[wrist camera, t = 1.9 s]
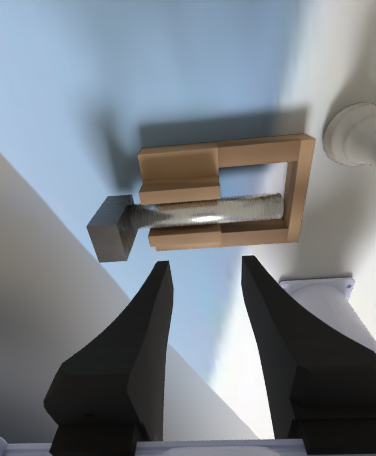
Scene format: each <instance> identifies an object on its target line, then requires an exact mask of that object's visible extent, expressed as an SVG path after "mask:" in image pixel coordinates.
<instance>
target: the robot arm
mask: <svg viewBox="0 0 376 456" xmlns="http://www.w3.org/2000/svg"><path fill="white" fill-rule="evenodd" d="M354 283H355V281H354V279H353V278H351V277H348V278H330V279H312V280H294V281H282V282H280V283H279V284H278V283H277V282H276V281H275V280H274V279H273V277H272V276H271V275H270V274H269V273H268V272H267V271H266V269H265V268H264V267H263V266H262V265H261V263H260V262H259V261H258V259H257V258H256V257H255V256H254V255H252V256H242V276H241V286H242V292H243V297H244V302H245V306H246V309H247V312H248V316H249V319H250V322H251V326H252V329H253V332H254V335H255V339H256V342H257V346H258V350H259V355H260V360H261V365H262V370H263V375H264V380H265V386H266V391H267V396H268V402H269V407H270V413H271V419H272V425H273V431H274V437H275V439H267V440H212V441H163V406H164V382H165V363H166V348H167V341H168V335H169V328H170V322H171V315H172V308H173V282H172V276H171V271H170V265H169V261H158V262H157V263H156V264H155V266H154V268H153V270H152V271H151V273H150V275H149V276H148V278H147V279H146V281H145V282H144V284H143V285H142V287H141V288H140V290H139V291H138V293H137V294H136V295H135V297H134V298H133V299H132V301H131V302H130V303H129V305H128V306H127V307H126V308H125V309H124V310H123V311H122V313H121V314H120V315H119V316H118V317H117V318H116V319H115V320H114V321H113V322H112V323H111V324H110V325H109V326H108V327H107V328H106V329H105V330H104V331H103V332H102V333H101V334H99V335H98V336H97V337H96V338H95V339H94V340H92V341H91V342H90V343H89V344H88V345H86V346H85V347H84V348H83V349H81V350H80V351H79V352H77V353H76V354H74V355H73V356H72V357H70V358H69V359H68V360H66V361H65V362H63V363H62V365H61V367H60V368H59V370H58V372H57V373H56V375H55V377H54V379H53V381H52V384H51V386H50V388H49V390H48V392H47V394H46V397H45V399H44V407H45V409H46V411H47V412H48V414H49V415H50V416H51V417H52V418H53V419H54V421H55V422H56V423H57V424H58V425H59V427H58V429H57V432H56V434H55V437H54V440H53V442H52V443H44V444H43V443H41V444H7V442H6V441H5V440H4V439H3V438H1V437H0V456H376V341H375V340H374V338H373V337H372V335H371V334H370V332H369V331H368V330H367V328H366V327H365V325H364V324H363V322H362V321H361V320H360V318H359V317H358V315H357V314H356V312H355V311H354V309H353V308H352V307H351V305H350V304H349V302H348V300H349V297H350V294H351V292H352V289H353V286H354ZM283 288H284V289H283Z"/></svg>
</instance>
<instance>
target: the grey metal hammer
mask: <svg viewBox="0 0 376 456" xmlns="http://www.w3.org/2000/svg"><path fill="white" fill-rule="evenodd" d="M283 211H284V204H283V198H282V195H281V194H280V193H271V194H258V195H245V196H233V197H220V199H213V200H200V201H187V202H175V203H162V204H149V205H141V204H134V201H133V197H132V195H120V196H108V197H107V198H106V200H105V201H104V202H103V204H102V205H101V207H100V208H99V209H98V211H97V212H96V214H95V215H94V216H93V218H92V219H91V221H90V222H89V224H88V225H87V226H86V227H87V230H88V232H89V235H90V238H91V241H92V244H93V246H94V249H95V252H96V255H97V257H98V260H99V263H100V262H116V261H127V259H128V256H129V254H130V251H131V248H132V245H133V242H134V240H135V237H136V234H137V231H138V229H145V228H159V227H173V226H187V225H201V224H215V223H229V222H243V221H257V220H270V219H281V218H282V216H283Z"/></svg>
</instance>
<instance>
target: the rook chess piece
mask: <svg viewBox="0 0 376 456" xmlns="http://www.w3.org/2000/svg"><path fill="white" fill-rule="evenodd" d="M323 149H324V151H325V153H326V155H327V157H328V158H330V159H331V160H333V161H335V162H338V163H340V164H341V165H349V166H357V165H363V164H372V165H376V105H374V104H371V103H363V102H361V103H357V104H354V105H350V106H348V107H346V108H345V109H343V110H342V111H341V112H339V113H338V114H336V116H335V117H334V118H333V119H332V121H331V122H330V123H329V124H328V126H327V129H326V131H325V134H324V137H323Z"/></svg>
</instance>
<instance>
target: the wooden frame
mask: <svg viewBox="0 0 376 456" xmlns="http://www.w3.org/2000/svg"><path fill="white" fill-rule="evenodd" d="M315 140H316V139H315V138H313V137H311V136H309V135H307V134H294V135H283V136H272V137H261V138H250V139H239V140H229V141H218V142H207V143H196V144H185V145H174V146H163V147H153V148H142V149H141V151H140V152H139V154H138V160H139V165H140V170H141V175H142V180H143V185H142V187H141V189H140V191H139V196H140V200H141V205H149V204H162V203H175V202H187V201H200V200H213V199H220V184H219V173H218V168H221V167H233V166H244V165H256V164H268V163H279V162H288V170H287V178H286V187H285V195H284V203H283V204H284V211H283V216H282V218H281V219H270V220H257V221H243V222H229V223H215V224H201V225H187V226H173V227H159V228H150V232H149V235H148V238H149V243H150V247H154V246H156V251H167V250H182V249H197V248H212V247H228V246H243V245H258V244H273V243H289V242H298V239H299V233H300V228H301V222H302V216H303V210H304V204H305V198H306V193H307V187H308V181H309V175H310V169H311V163H312V157H313V152H314V146H315Z"/></svg>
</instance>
